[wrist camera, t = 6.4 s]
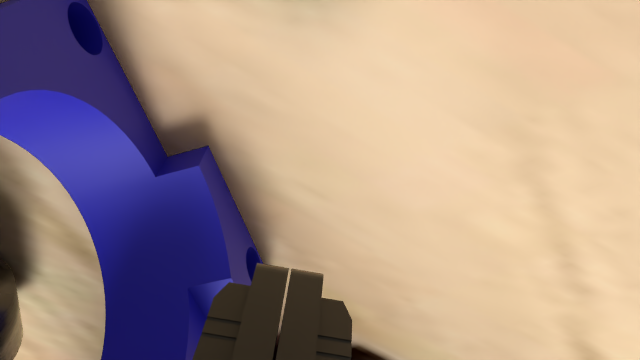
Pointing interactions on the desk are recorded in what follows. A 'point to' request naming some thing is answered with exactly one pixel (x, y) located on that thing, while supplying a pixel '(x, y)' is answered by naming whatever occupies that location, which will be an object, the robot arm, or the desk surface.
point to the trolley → (9, 314)
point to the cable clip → (121, 180)
